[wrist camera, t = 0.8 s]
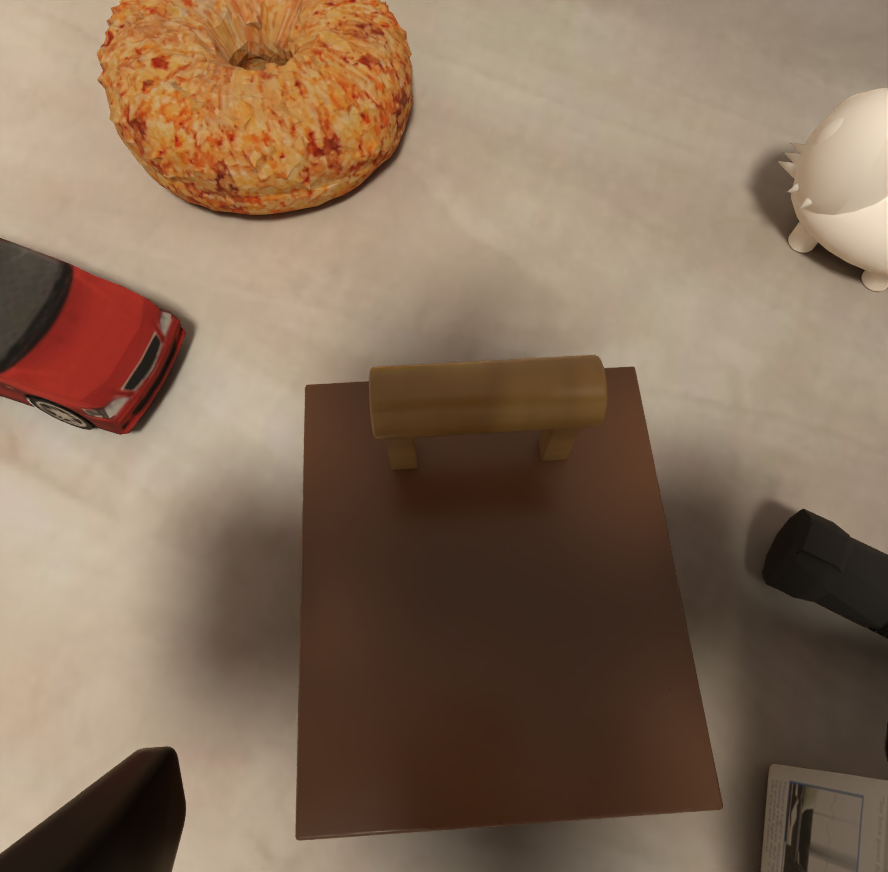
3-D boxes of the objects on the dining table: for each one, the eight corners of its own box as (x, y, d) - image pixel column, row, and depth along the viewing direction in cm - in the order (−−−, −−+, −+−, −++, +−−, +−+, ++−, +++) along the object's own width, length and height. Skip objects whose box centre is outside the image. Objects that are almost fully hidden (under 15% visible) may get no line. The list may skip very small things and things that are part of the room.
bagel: (119, 249, 27) (52, 154, 22) (142, 29, 32) (92, -85, 28) (429, 222, 28) (426, 124, 23) (402, 10, 33) (395, -105, 28)
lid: (310, 396, 19) (267, 296, 15) (628, 378, 19) (686, 274, 15) (302, 835, 15) (237, 891, 10) (711, 805, 15) (829, 845, 10)
